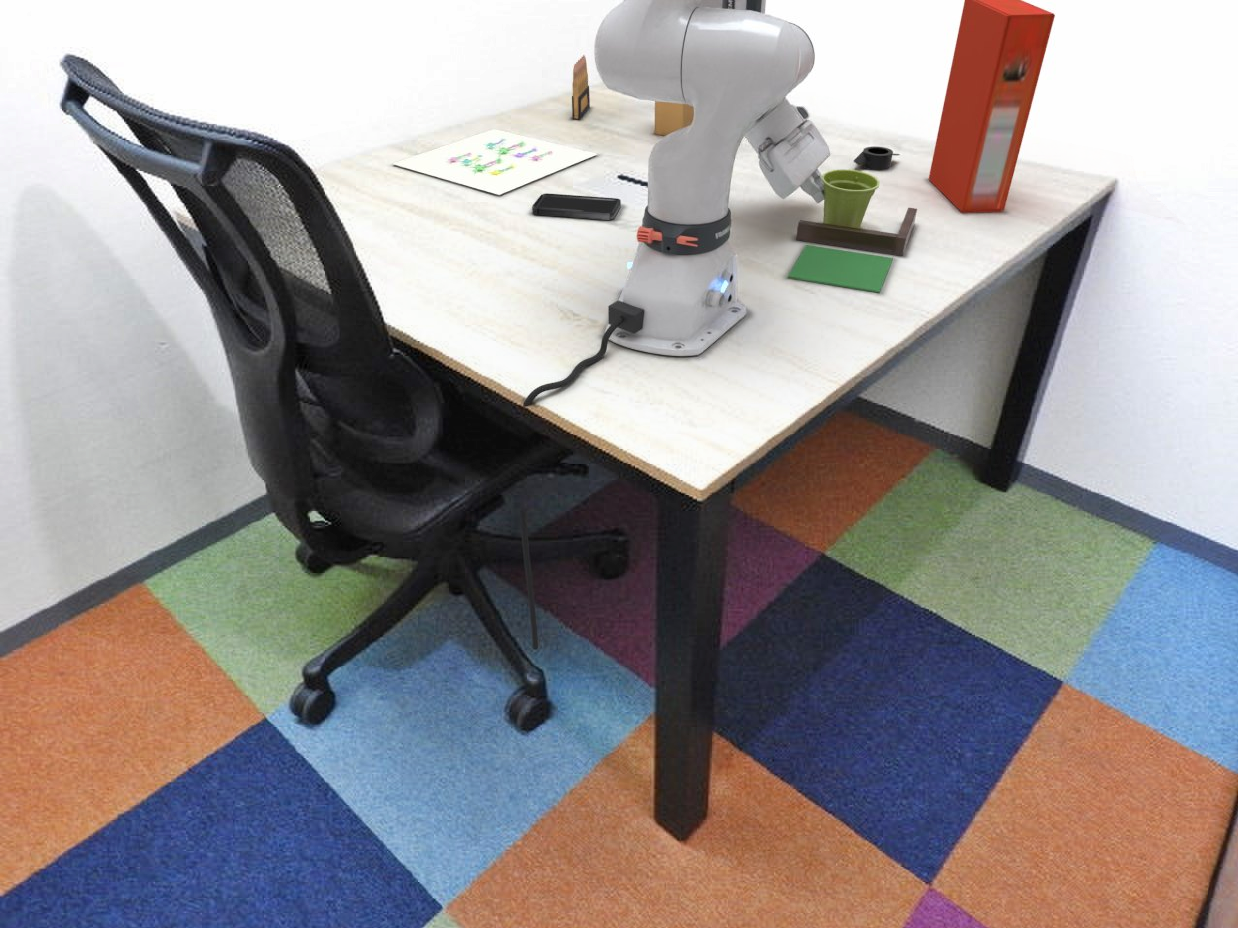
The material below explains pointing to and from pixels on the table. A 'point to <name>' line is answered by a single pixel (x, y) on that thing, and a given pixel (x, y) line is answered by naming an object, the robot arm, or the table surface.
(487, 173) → the printed paper
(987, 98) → the file binder
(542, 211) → the phone
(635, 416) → the table surface
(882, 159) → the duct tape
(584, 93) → the ammunition clip
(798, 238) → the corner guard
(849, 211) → the plant pot
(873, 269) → the green cloth
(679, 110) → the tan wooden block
